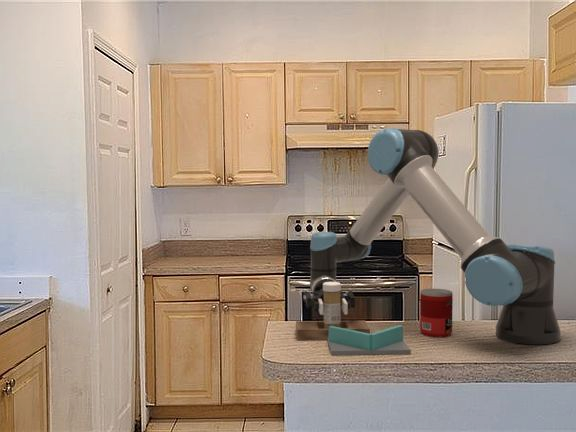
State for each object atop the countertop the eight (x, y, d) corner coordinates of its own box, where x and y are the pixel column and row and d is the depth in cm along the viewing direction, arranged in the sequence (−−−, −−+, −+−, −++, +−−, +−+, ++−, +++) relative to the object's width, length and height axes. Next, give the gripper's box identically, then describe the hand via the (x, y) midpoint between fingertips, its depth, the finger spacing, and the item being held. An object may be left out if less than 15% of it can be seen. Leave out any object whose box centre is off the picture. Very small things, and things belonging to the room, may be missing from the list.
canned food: (452, 338, 164) (453, 294, 164) (420, 336, 166) (420, 293, 165) (451, 330, 172) (451, 288, 171) (420, 329, 173) (420, 288, 173)
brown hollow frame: (364, 330, 173) (364, 320, 173) (370, 339, 164) (370, 329, 164) (296, 331, 173) (295, 321, 173) (297, 340, 163) (297, 330, 163)
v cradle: (400, 340, 163) (400, 322, 162) (410, 354, 151) (410, 334, 150) (327, 341, 162) (327, 323, 162) (331, 355, 150) (331, 335, 150)
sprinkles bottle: (339, 332, 171) (339, 281, 170) (342, 337, 166) (342, 284, 165) (321, 333, 170) (321, 281, 170) (324, 337, 166) (324, 284, 165)
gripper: (358, 304, 186) (371, 323, 163) (293, 305, 186) (296, 324, 163) (358, 277, 186) (371, 293, 163) (293, 278, 185) (296, 294, 162)
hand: (333, 309), depth 163 cm, fingers open, 5 cm apart
